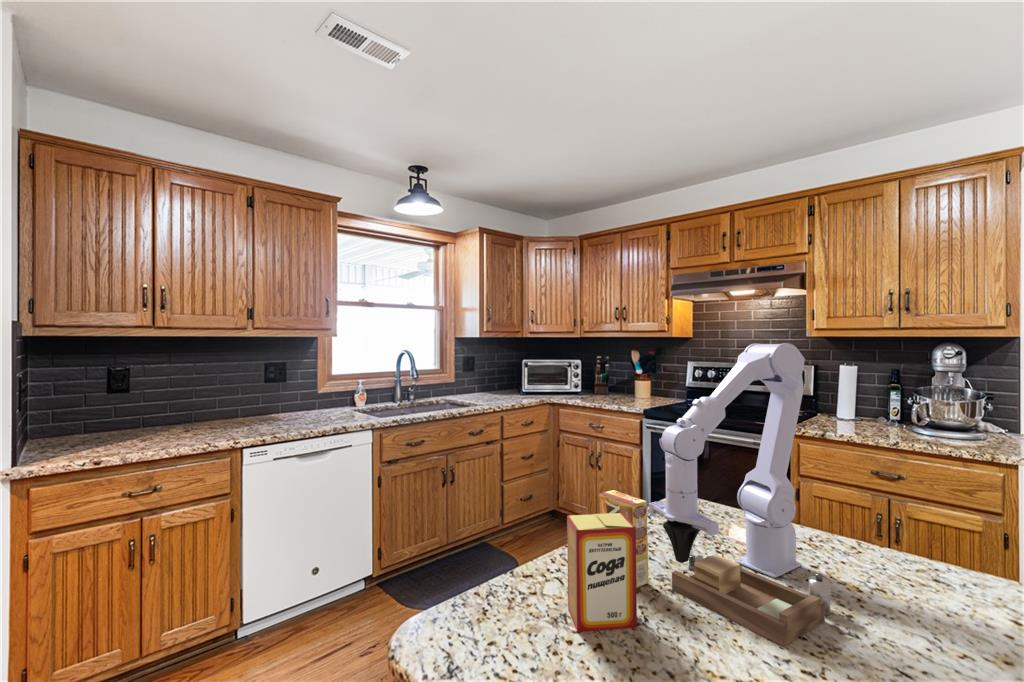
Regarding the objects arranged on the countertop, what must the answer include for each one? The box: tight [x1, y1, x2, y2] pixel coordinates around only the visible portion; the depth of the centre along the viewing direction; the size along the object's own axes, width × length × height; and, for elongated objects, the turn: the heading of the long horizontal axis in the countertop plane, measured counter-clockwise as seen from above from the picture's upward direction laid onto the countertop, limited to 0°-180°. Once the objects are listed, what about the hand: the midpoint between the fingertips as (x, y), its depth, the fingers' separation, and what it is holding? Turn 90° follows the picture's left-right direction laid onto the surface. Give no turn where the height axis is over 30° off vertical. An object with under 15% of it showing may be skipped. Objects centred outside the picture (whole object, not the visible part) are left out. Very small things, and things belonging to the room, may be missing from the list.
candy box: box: [598, 489, 649, 589], centre depth 93 cm, size 9×4×15 cm, turn 33°
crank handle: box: [688, 554, 704, 572], centre depth 98 cm, size 6×1×3 cm, turn 142°
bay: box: [671, 567, 826, 647], centre depth 83 cm, size 12×20×4 cm, turn 32°
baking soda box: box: [566, 513, 638, 633], centre depth 79 cm, size 10×6×16 cm
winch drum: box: [808, 572, 831, 617], centre depth 81 cm, size 3×3×6 cm
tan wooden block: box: [693, 553, 742, 594], centre depth 87 cm, size 6×5×4 cm
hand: (682, 560), depth 93 cm, fingers closed
